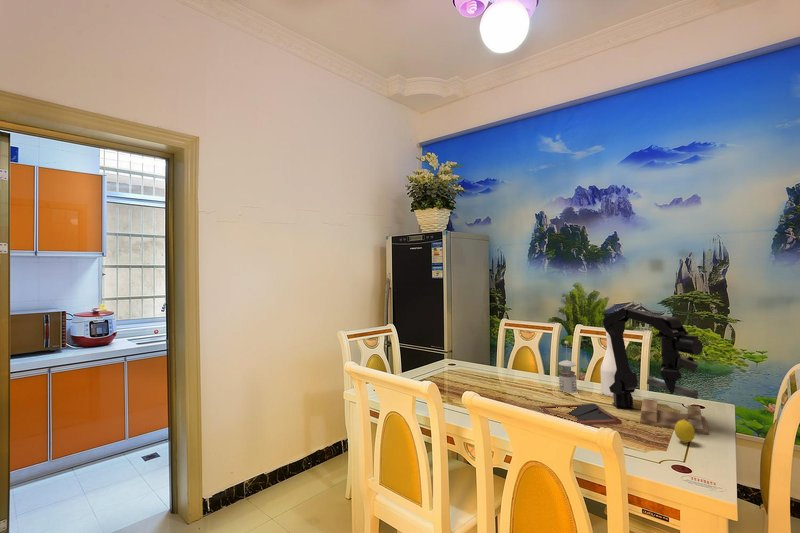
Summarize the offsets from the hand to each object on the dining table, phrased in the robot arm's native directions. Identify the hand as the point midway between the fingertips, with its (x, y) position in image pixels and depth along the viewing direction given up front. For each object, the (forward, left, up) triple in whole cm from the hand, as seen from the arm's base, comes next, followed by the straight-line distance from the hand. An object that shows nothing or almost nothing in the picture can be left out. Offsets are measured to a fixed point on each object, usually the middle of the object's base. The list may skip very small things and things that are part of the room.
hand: (671, 391), depth 152 cm
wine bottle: (-8, +37, -13) cm, 40 cm away
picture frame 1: (-32, +8, -14) cm, 36 cm away
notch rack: (+2, +4, -13) cm, 13 cm away
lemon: (-4, -16, -13) cm, 21 cm away
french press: (-27, +41, -13) cm, 51 cm away
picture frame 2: (0, 0, +1) cm, 1 cm away
